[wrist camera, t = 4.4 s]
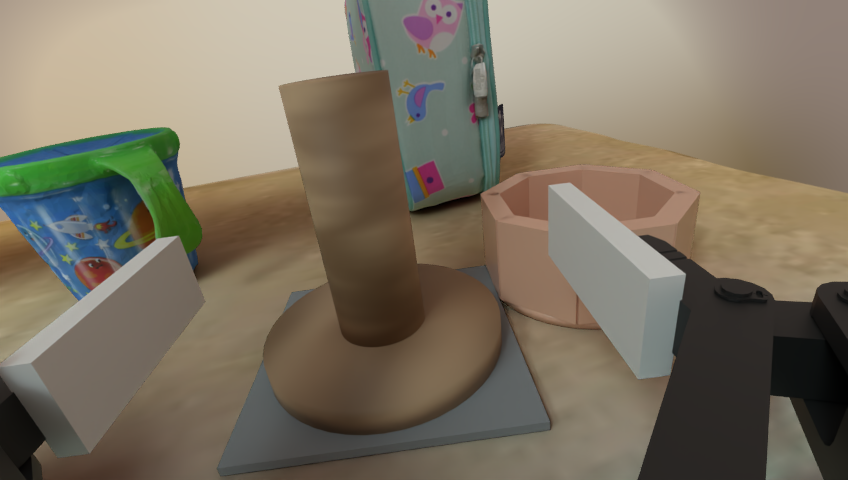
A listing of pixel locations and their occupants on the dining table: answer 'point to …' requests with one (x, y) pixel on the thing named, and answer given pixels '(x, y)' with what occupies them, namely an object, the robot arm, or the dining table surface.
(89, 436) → the robot arm
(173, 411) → the dining table surface
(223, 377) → the dining table surface
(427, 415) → the paper towel holder
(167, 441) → the dining table surface
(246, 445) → the mat
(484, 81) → the lunch box
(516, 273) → the bowl
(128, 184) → the snack cup
